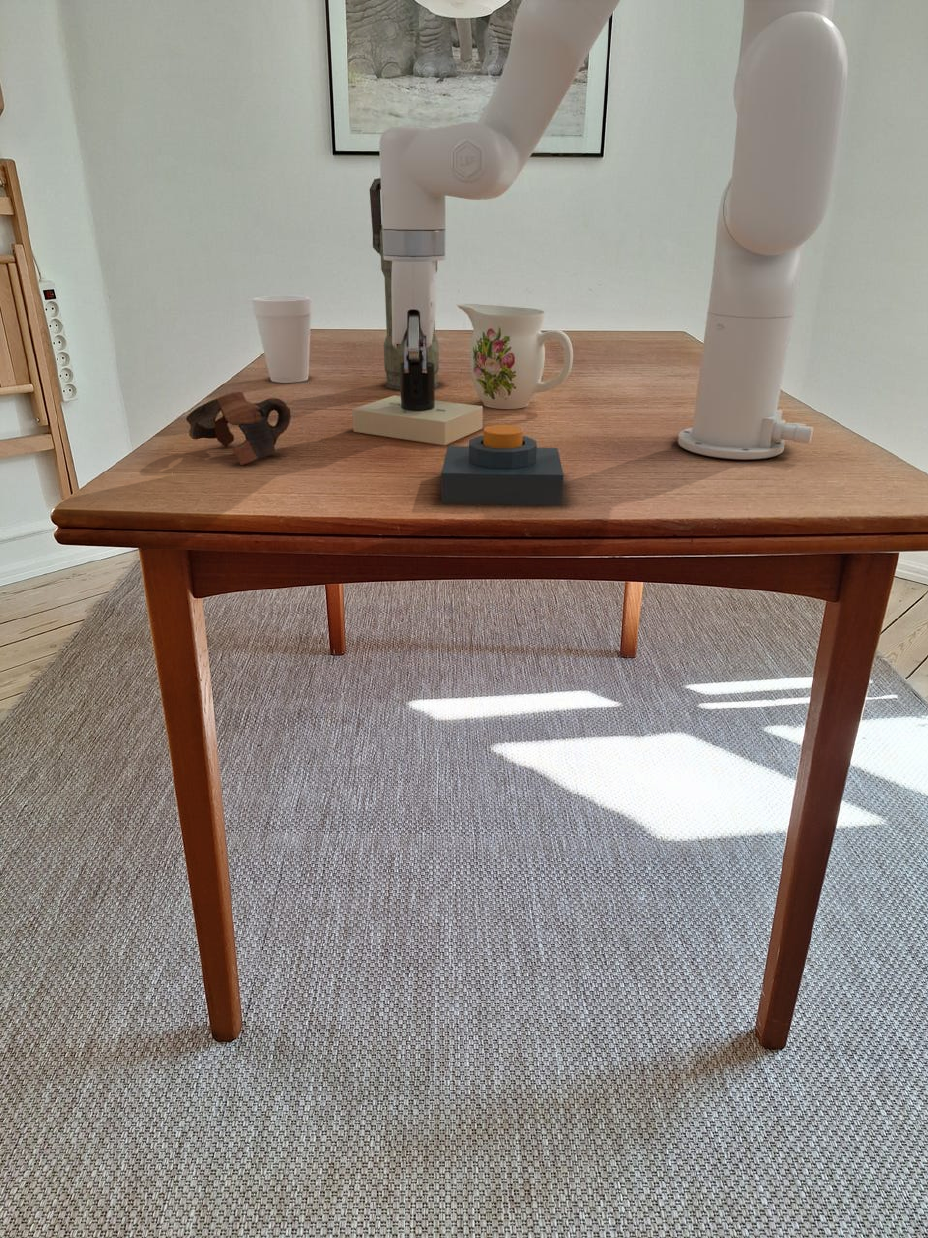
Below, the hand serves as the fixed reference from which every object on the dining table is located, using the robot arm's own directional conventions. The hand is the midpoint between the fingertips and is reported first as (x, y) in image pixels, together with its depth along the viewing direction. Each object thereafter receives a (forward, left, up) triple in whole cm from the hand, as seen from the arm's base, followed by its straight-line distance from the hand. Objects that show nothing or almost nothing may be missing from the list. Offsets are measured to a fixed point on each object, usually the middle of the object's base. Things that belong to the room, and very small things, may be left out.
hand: (417, 398), depth 106 cm
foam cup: (+38, -19, -4) cm, 43 cm away
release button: (-21, +17, 0) cm, 27 cm away
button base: (-21, +17, -4) cm, 27 cm away
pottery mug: (+12, +20, -4) cm, 24 cm away
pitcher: (-4, -20, -4) cm, 21 cm away
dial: (0, 0, -1) cm, 1 cm away
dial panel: (0, 0, -4) cm, 4 cm away
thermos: (+17, -25, -4) cm, 31 cm away
